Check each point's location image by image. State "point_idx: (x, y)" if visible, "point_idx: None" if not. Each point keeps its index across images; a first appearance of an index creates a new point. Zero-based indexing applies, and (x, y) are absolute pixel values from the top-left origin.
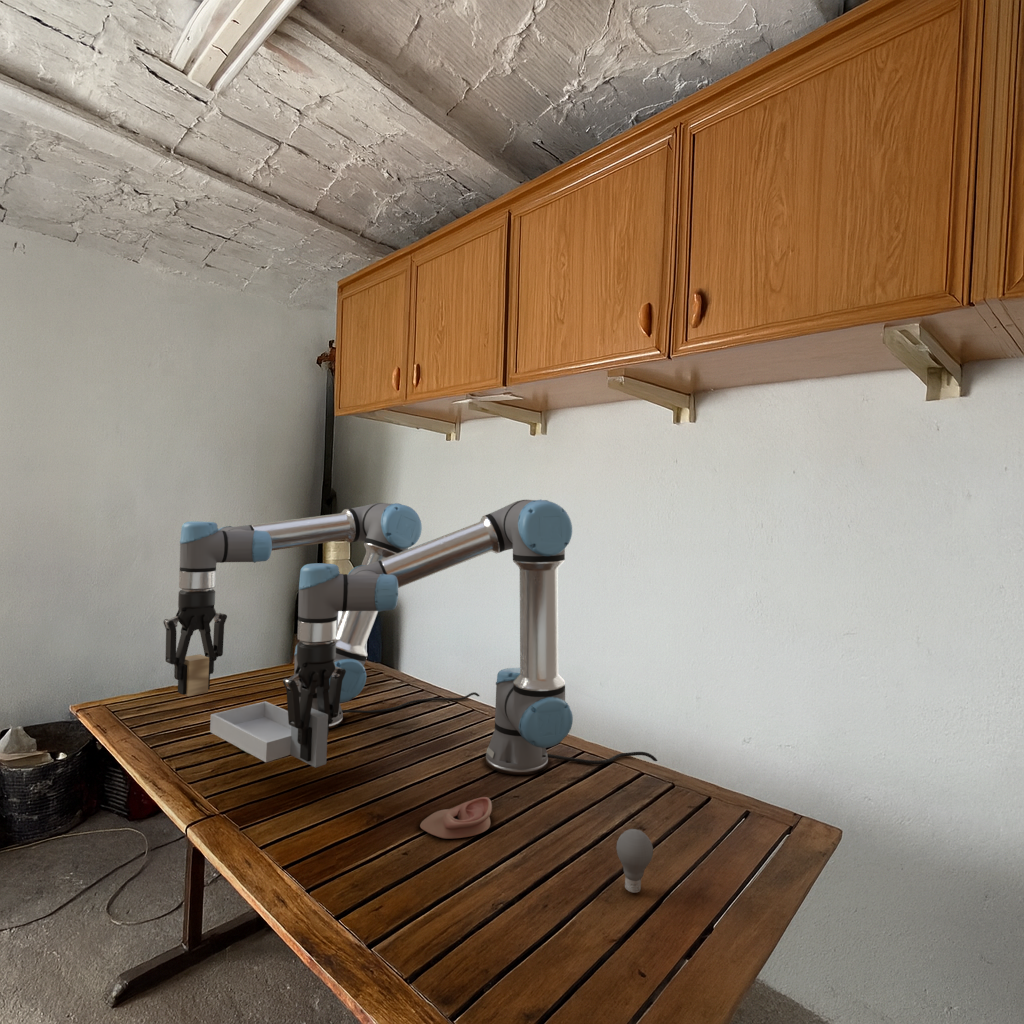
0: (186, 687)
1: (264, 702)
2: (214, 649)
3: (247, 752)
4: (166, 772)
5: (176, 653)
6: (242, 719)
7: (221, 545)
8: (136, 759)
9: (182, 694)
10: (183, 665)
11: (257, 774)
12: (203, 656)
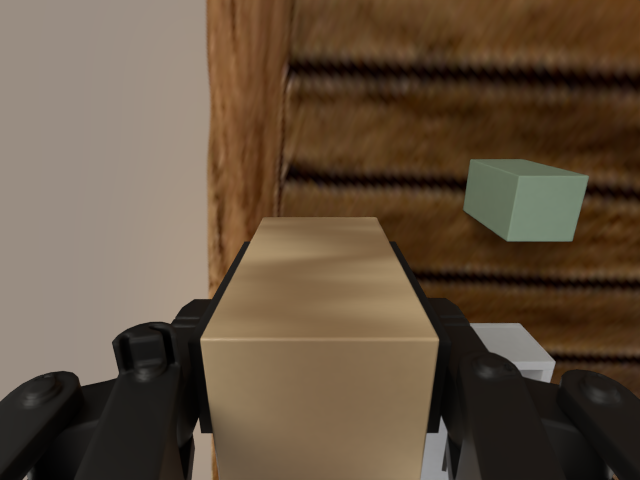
0: None
1: (542, 370)
2: (598, 441)
3: (464, 204)
4: (262, 173)
5: (90, 462)
6: None
7: None
8: (230, 15)
9: None
10: (202, 419)
11: None
12: (405, 443)
